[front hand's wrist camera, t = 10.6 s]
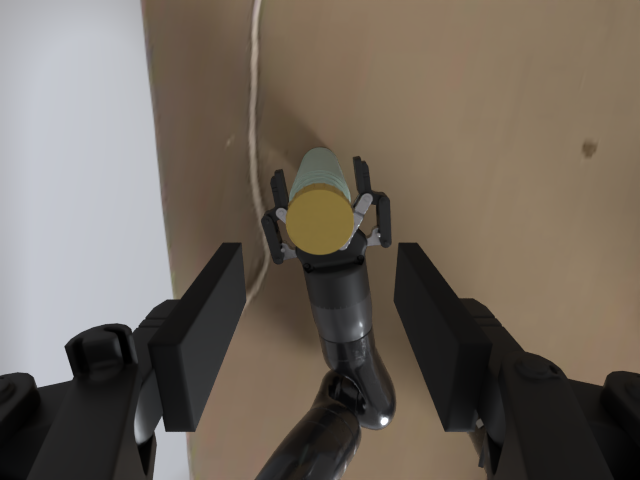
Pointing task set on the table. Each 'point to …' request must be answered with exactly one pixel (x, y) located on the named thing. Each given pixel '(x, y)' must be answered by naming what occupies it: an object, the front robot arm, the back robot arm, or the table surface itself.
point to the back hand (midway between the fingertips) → (316, 164)
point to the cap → (319, 219)
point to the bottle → (319, 171)
